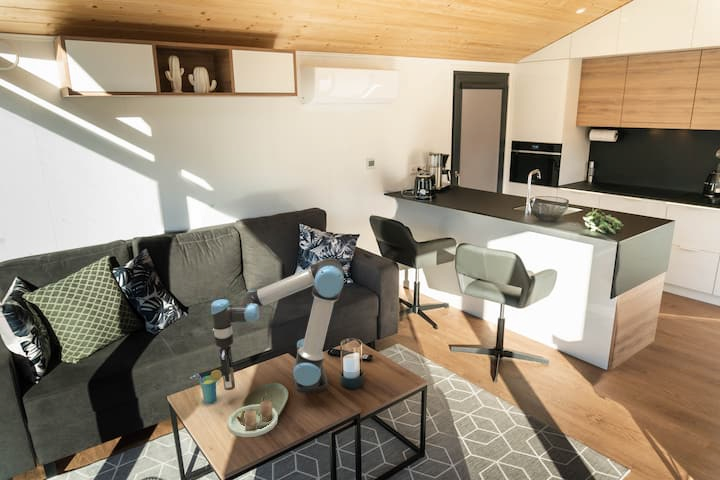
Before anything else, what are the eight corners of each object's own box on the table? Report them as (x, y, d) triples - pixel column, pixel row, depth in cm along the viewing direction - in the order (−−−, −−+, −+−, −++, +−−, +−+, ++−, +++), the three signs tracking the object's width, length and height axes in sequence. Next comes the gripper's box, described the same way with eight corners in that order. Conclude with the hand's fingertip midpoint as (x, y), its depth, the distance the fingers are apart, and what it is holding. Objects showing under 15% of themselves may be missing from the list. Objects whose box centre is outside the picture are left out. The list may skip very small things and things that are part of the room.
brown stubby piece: (235, 384, 219) (234, 368, 217) (234, 389, 215) (232, 373, 213) (225, 385, 219) (223, 368, 217) (223, 390, 214) (221, 374, 212)
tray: (279, 407, 215) (278, 402, 214) (275, 436, 196) (275, 431, 195) (232, 411, 213) (232, 406, 213) (224, 440, 194) (224, 435, 193)
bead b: (257, 426, 201) (256, 409, 199) (256, 433, 197) (255, 415, 195) (246, 427, 201) (244, 410, 199) (244, 434, 196) (243, 416, 194)
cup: (196, 411, 214) (192, 380, 210) (190, 403, 220) (186, 373, 216) (226, 399, 222) (223, 369, 218) (219, 392, 228) (216, 362, 224)
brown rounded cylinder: (273, 417, 207) (272, 400, 205) (272, 423, 203) (271, 406, 201) (262, 417, 207) (260, 400, 205) (261, 424, 202) (259, 407, 200)
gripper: (218, 327, 219) (224, 374, 224) (210, 345, 202) (217, 395, 208) (235, 326, 219) (241, 373, 225) (229, 343, 203) (235, 394, 208)
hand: (229, 384), depth 216 cm, fingers closed on brown stubby piece, 4 cm apart
